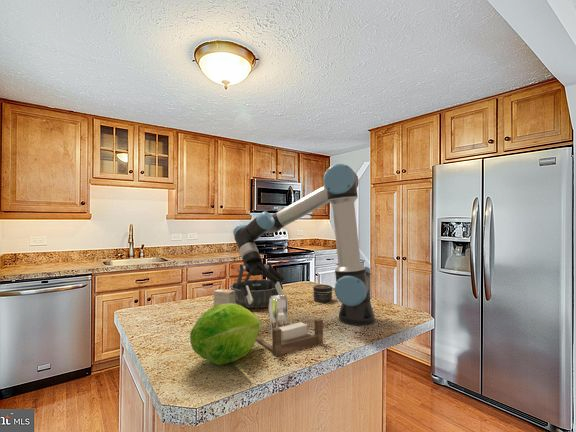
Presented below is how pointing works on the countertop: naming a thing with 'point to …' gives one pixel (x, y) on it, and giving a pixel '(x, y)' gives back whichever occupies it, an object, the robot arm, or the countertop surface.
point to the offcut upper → (293, 330)
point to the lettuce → (225, 333)
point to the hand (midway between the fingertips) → (267, 299)
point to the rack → (295, 344)
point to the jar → (322, 293)
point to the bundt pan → (255, 293)
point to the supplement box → (224, 297)
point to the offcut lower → (295, 337)
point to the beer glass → (277, 311)
